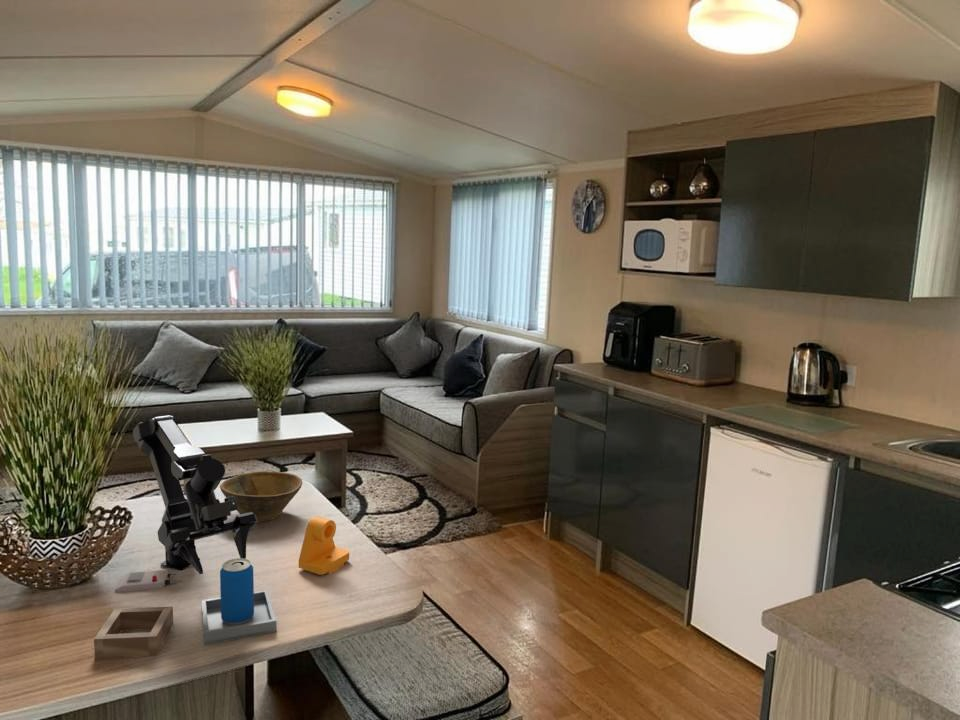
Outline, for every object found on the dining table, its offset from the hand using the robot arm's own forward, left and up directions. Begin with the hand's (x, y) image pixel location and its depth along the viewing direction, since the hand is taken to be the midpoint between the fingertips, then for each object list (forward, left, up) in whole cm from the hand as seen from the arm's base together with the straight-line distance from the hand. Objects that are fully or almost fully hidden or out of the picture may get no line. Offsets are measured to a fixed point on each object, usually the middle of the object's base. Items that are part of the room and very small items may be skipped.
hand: (223, 567), depth 148 cm
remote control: (-23, +1, -10) cm, 25 cm away
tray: (+7, -3, -9) cm, 12 cm away
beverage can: (+6, -3, -9) cm, 11 cm away
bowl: (-25, +45, -9) cm, 52 cm away
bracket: (+9, +26, -9) cm, 29 cm away
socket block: (-6, -17, -9) cm, 21 cm away
